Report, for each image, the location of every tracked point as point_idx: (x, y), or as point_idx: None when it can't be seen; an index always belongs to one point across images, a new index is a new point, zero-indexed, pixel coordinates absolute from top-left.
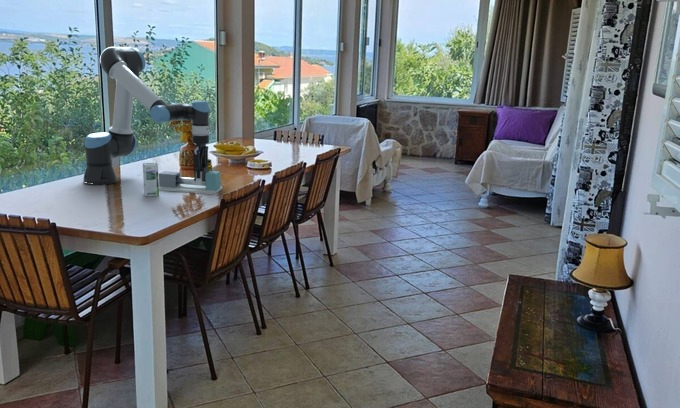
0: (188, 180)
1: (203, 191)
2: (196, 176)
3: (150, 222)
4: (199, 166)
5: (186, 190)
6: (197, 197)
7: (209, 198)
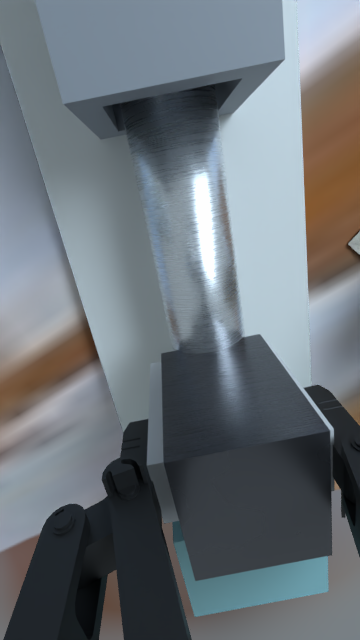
0: (160, 284)
1: (120, 421)
2: (123, 439)
3: None
4: (90, 633)
5: (80, 295)
6: (4, 436)
7: (33, 498)
